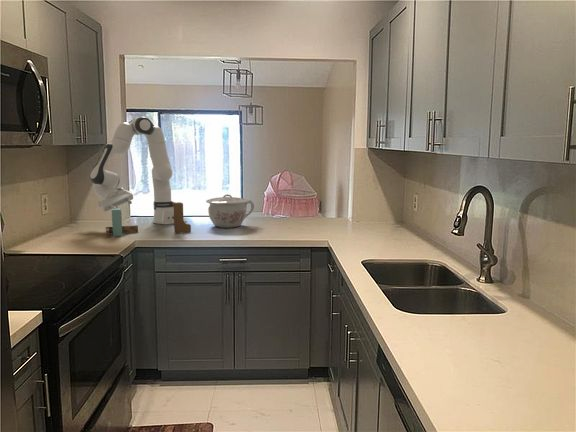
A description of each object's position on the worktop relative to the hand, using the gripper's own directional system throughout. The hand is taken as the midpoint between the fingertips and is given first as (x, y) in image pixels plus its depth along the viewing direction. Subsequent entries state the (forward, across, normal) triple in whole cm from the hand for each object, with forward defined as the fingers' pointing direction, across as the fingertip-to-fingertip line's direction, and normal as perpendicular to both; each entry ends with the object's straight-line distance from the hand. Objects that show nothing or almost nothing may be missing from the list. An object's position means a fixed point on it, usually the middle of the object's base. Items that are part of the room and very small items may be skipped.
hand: (124, 206), depth 293 cm
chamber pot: (+40, +48, +19) cm, 65 cm away
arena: (+15, -12, +8) cm, 20 cm away
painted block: (+14, -14, +6) cm, 21 cm away
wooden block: (+34, +16, +10) cm, 39 cm away
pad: (+14, -15, +7) cm, 21 cm away
